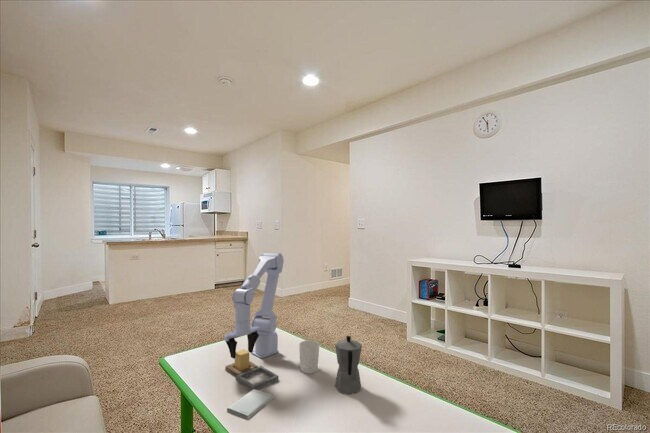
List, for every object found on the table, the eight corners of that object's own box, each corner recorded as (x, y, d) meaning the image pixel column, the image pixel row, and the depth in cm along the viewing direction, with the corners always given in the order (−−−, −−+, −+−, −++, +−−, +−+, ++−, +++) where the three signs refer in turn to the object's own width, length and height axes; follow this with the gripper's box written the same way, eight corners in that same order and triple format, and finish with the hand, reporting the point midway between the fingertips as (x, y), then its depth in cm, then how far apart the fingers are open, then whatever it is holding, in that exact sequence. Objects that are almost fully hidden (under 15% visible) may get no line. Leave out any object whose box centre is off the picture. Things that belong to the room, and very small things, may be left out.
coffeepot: (334, 377, 116) (334, 329, 117) (359, 378, 116) (360, 329, 117) (335, 401, 101) (336, 345, 101) (364, 402, 101) (365, 346, 101)
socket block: (245, 362, 128) (245, 359, 128) (258, 370, 122) (258, 366, 122) (225, 370, 121) (225, 366, 121) (237, 378, 115) (237, 374, 115)
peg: (243, 366, 124) (243, 349, 124) (249, 370, 121) (249, 352, 122) (234, 370, 121) (234, 352, 121) (239, 373, 119) (240, 355, 119)
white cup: (295, 372, 120) (295, 346, 121) (304, 363, 128) (304, 339, 128) (314, 376, 118) (314, 349, 118) (322, 367, 125) (322, 342, 125)
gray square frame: (261, 369, 122) (261, 365, 122) (278, 379, 114) (278, 375, 114) (235, 379, 114) (235, 375, 114) (252, 391, 106) (252, 387, 106)
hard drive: (247, 415, 92) (273, 394, 103) (226, 407, 95) (253, 388, 106) (247, 421, 92) (272, 399, 103) (226, 413, 95) (253, 393, 106)
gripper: (252, 313, 130) (252, 346, 129) (220, 321, 119) (219, 357, 119) (262, 317, 125) (262, 351, 125) (229, 325, 114) (228, 363, 114)
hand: (241, 354), depth 121 cm, fingers open, 7 cm apart
